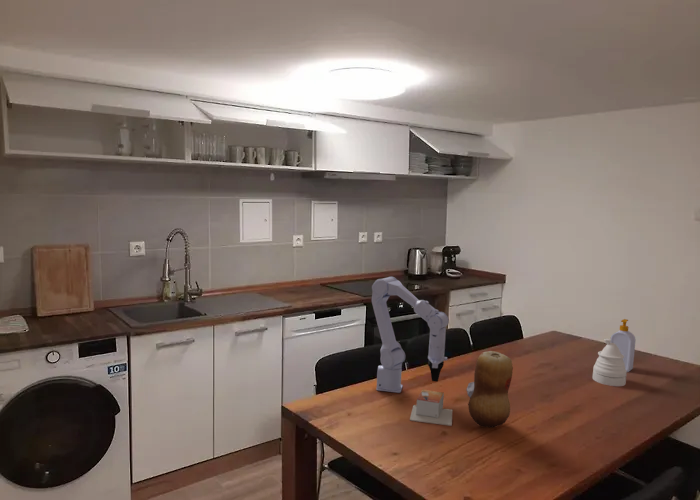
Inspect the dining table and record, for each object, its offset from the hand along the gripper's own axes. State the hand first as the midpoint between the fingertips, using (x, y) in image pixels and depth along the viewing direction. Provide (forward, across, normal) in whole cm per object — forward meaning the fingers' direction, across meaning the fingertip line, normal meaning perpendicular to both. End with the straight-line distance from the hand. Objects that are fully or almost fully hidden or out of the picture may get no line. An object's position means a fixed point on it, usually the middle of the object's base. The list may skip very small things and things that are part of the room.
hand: (434, 380), depth 193 cm
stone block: (+8, +12, -17) cm, 22 cm away
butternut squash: (+8, -16, -19) cm, 26 cm away
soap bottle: (+8, +65, -82) cm, 105 cm away
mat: (+8, -14, 0) cm, 16 cm away
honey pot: (+8, +45, -72) cm, 85 cm away
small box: (+4, -6, 0) cm, 7 cm away
